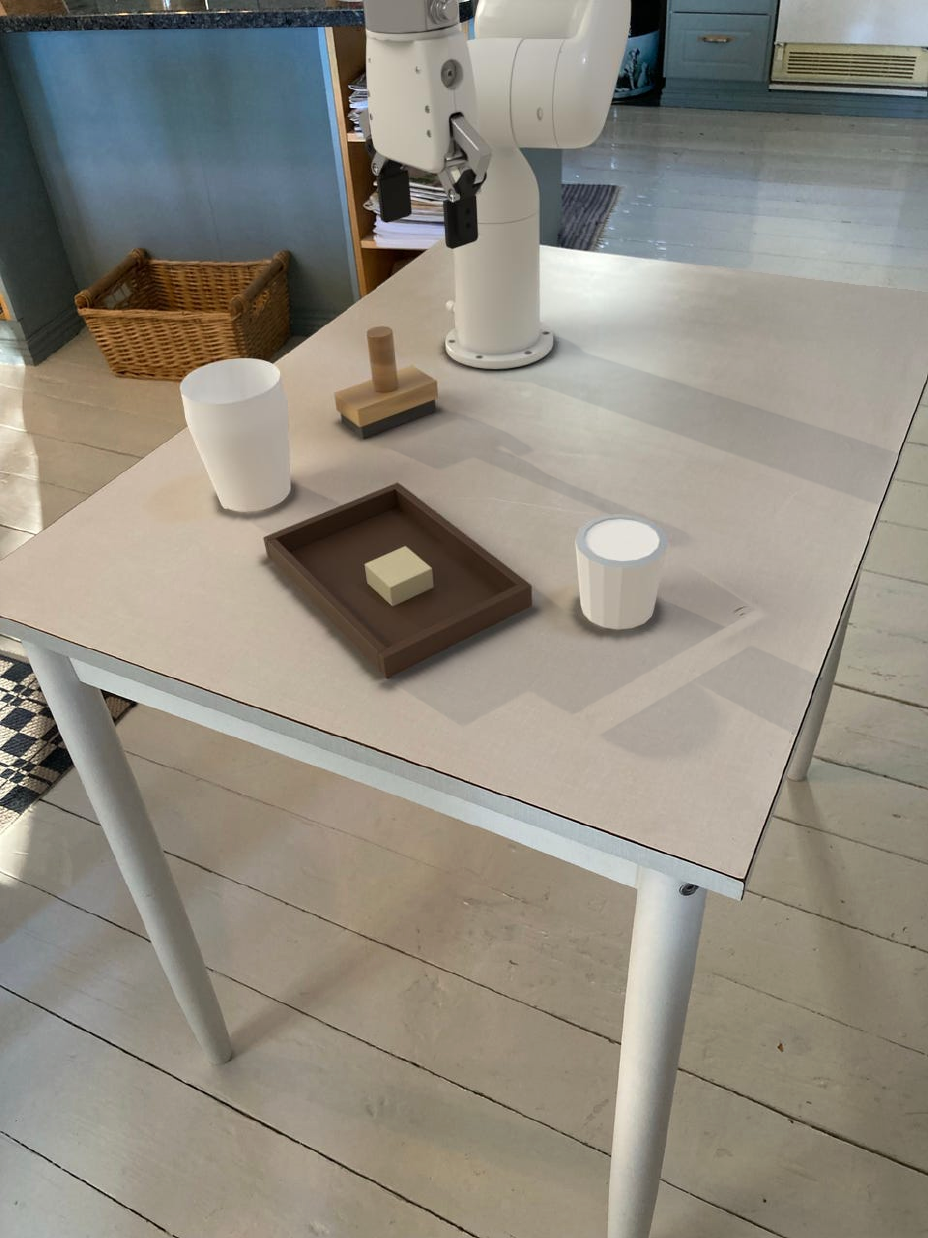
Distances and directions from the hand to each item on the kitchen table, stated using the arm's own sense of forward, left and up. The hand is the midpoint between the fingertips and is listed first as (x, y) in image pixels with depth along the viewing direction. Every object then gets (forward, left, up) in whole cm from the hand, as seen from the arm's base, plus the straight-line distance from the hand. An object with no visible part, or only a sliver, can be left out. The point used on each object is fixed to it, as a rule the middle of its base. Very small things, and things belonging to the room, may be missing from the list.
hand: (428, 230), depth 89 cm
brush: (-6, -3, -20) cm, 21 cm away
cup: (-1, -21, -20) cm, 29 cm away
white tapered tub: (+33, -6, -20) cm, 39 cm away
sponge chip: (+20, -18, -20) cm, 33 cm away
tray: (+19, -18, -20) cm, 33 cm away
